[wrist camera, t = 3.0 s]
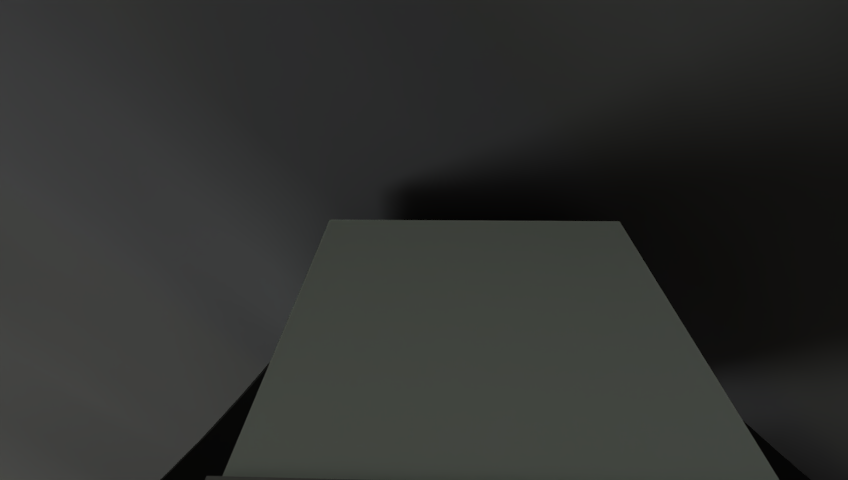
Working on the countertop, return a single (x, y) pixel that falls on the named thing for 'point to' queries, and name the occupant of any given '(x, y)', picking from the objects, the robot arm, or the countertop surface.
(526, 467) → the box
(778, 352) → the countertop surface
